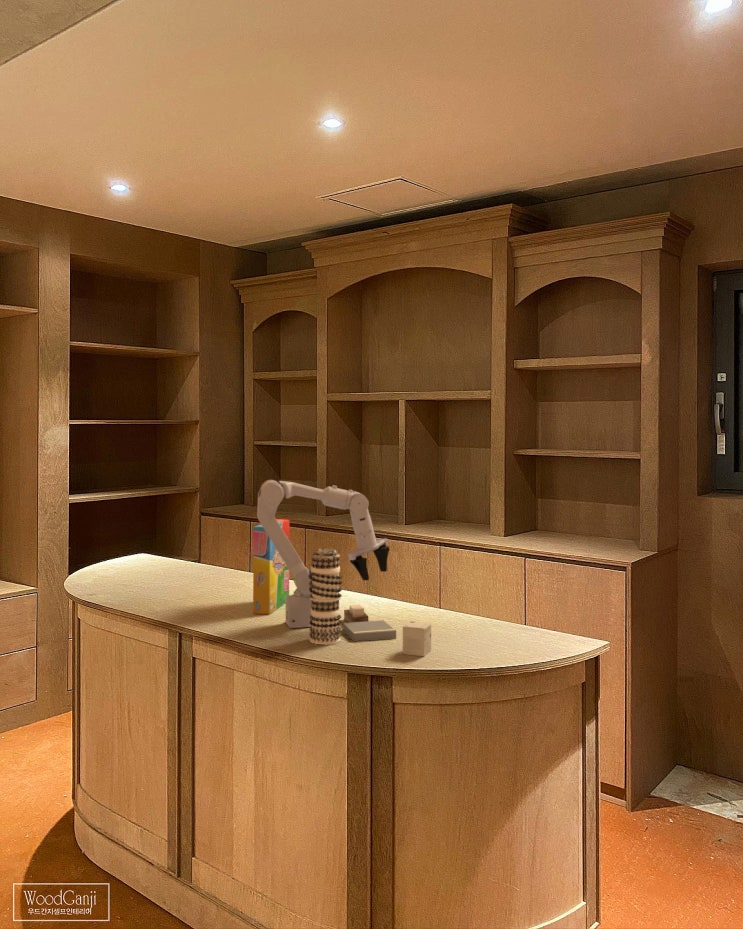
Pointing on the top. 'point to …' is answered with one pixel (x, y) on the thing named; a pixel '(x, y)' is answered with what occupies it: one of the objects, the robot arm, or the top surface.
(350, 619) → the brown wooden tray
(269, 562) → the game box
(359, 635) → the dock
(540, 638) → the top surface
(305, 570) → the robot arm
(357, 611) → the beige block
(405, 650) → the skincare box
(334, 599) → the decorative candle
